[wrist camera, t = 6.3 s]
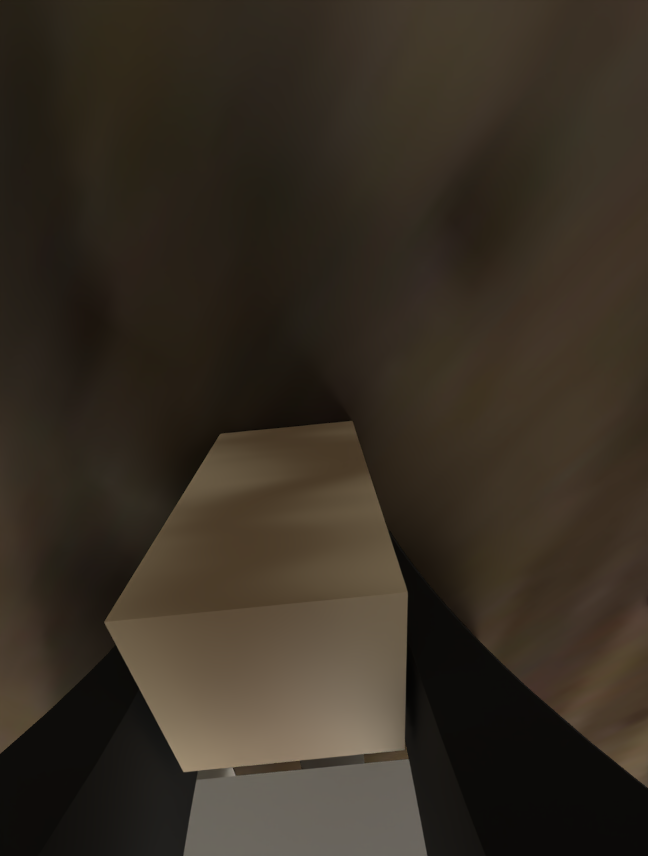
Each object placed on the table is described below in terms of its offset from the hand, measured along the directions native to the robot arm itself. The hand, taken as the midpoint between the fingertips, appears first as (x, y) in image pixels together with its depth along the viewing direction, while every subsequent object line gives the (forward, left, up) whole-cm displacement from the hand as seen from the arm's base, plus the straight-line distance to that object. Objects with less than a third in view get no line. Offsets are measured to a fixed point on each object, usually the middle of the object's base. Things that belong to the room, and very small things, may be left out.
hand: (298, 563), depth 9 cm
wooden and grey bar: (0, +7, -2) cm, 7 cm away
